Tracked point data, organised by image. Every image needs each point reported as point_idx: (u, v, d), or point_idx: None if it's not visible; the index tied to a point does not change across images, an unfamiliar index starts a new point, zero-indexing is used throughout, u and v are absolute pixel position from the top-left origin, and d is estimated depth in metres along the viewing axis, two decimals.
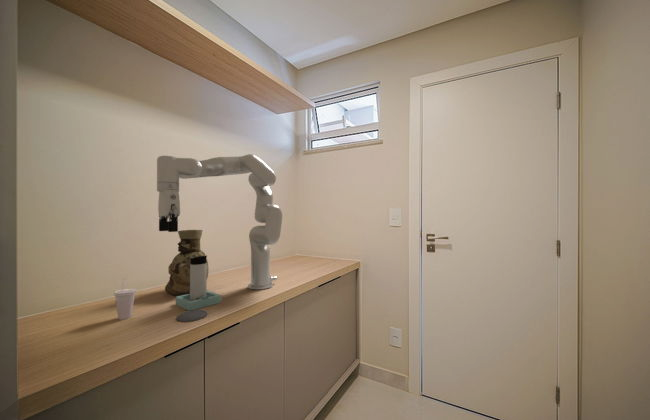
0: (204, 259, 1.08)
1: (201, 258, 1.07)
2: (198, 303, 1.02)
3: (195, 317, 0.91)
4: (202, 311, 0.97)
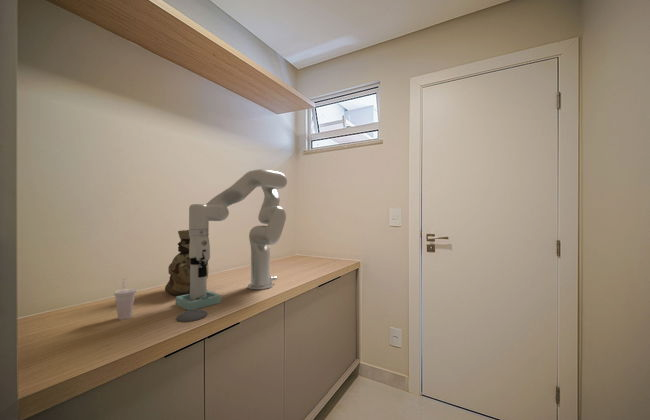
0: None
1: (201, 258, 1.07)
2: (198, 303, 1.02)
3: (195, 317, 0.91)
4: (202, 311, 0.97)
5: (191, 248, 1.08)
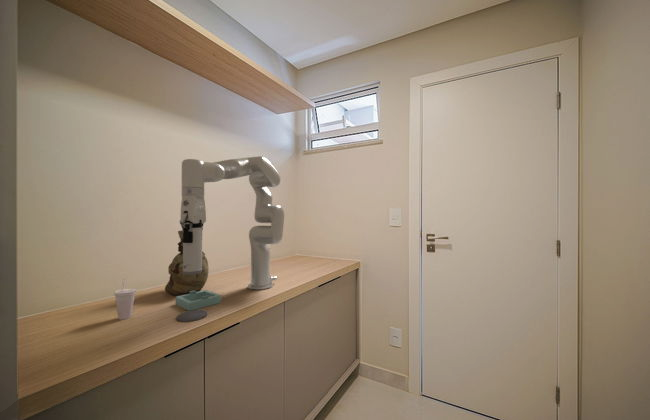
0: None
1: (187, 221, 0.92)
2: (198, 303, 1.02)
3: (195, 317, 0.91)
4: (202, 311, 0.97)
5: None
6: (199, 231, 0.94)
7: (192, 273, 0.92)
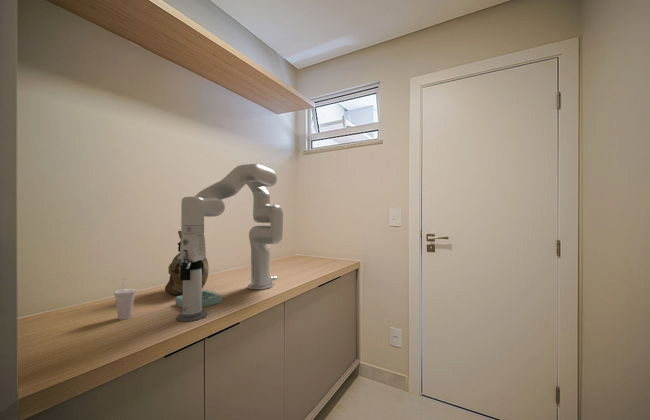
0: (192, 265, 0.92)
1: None
2: None
3: (195, 317, 0.91)
4: (202, 311, 0.97)
5: None
6: (199, 272, 0.94)
7: (191, 316, 0.91)
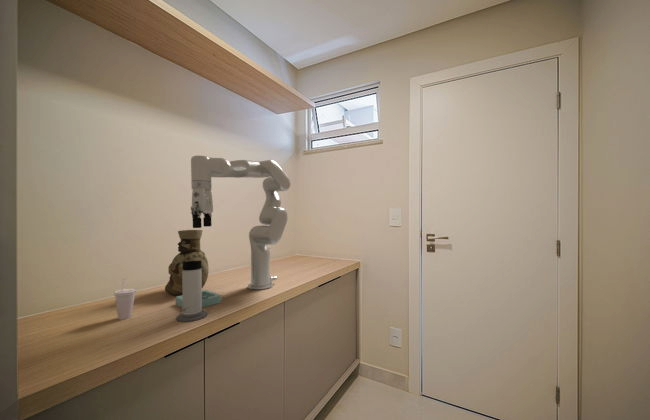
0: (191, 265, 0.92)
1: (187, 263, 0.92)
2: None
3: (195, 317, 0.91)
4: (202, 311, 0.97)
5: None
6: (198, 273, 0.93)
7: (191, 316, 0.91)
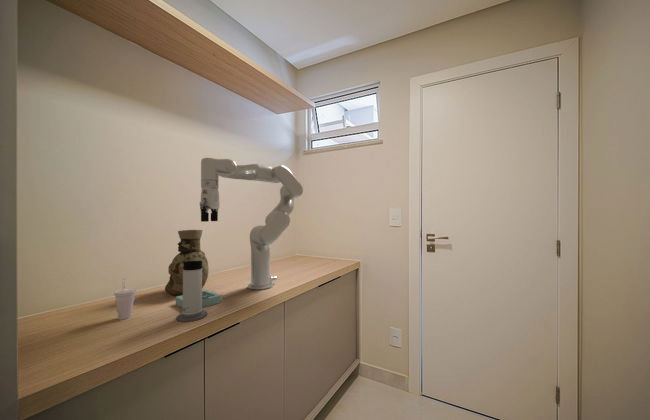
0: (192, 265, 0.92)
1: (188, 263, 0.92)
2: None
3: (195, 317, 0.91)
4: (202, 311, 0.97)
5: None
6: (199, 273, 0.93)
7: (191, 316, 0.91)
